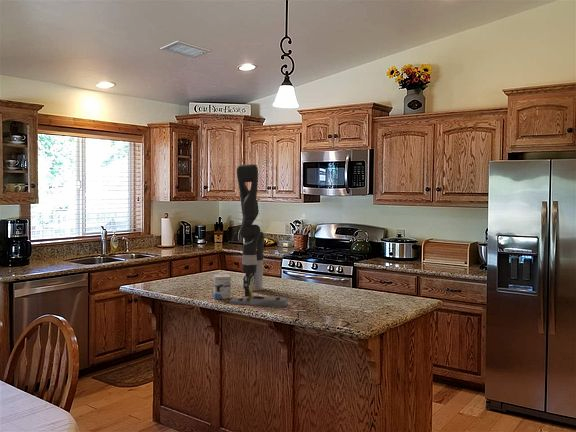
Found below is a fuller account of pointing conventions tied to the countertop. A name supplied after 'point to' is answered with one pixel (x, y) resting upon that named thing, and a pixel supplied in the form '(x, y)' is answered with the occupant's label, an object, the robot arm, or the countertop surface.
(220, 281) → the ink box
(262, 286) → the robot arm
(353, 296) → the countertop surface
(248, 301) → the link plates
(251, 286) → the link pin
